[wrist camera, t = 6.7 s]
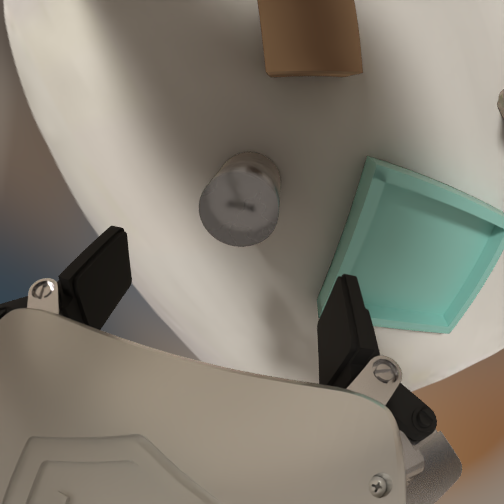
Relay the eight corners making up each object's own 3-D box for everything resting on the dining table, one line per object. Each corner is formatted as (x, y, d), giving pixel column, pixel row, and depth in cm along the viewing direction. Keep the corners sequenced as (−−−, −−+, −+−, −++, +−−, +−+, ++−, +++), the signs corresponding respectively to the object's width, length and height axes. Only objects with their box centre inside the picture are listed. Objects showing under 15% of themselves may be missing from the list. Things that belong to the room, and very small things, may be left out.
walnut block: (271, 77, 16) (265, 72, 12) (263, 14, 13) (256, -9, 9) (343, 77, 15) (362, 72, 11) (337, 14, 13) (352, -8, 8)
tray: (316, 299, 26) (318, 318, 24) (367, 155, 18) (376, 164, 16) (442, 318, 25) (449, 333, 23) (502, 211, 18) (516, 223, 16)
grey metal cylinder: (216, 203, 22) (196, 238, 17) (223, 147, 19) (201, 167, 14) (274, 214, 22) (270, 253, 17) (286, 158, 19) (286, 182, 14)
